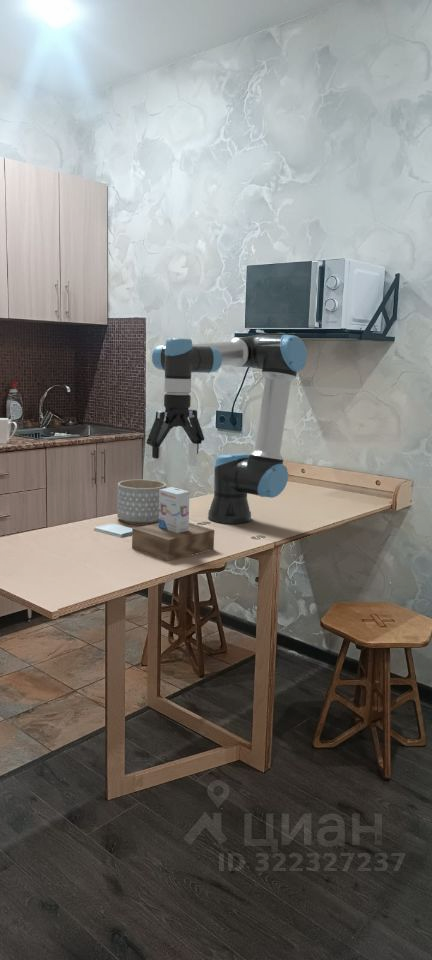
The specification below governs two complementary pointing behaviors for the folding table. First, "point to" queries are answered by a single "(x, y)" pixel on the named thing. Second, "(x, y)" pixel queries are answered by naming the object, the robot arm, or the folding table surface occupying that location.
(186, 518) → the ink box
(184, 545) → the walnut stand
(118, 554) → the folding table surface
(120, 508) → the planter
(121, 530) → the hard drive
